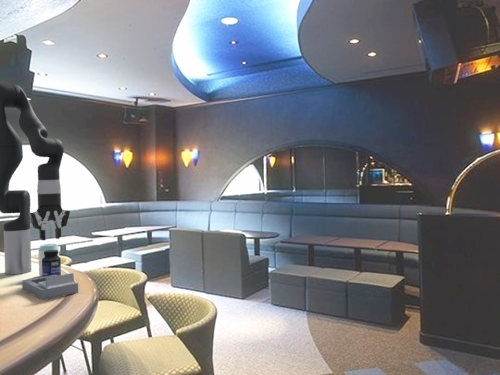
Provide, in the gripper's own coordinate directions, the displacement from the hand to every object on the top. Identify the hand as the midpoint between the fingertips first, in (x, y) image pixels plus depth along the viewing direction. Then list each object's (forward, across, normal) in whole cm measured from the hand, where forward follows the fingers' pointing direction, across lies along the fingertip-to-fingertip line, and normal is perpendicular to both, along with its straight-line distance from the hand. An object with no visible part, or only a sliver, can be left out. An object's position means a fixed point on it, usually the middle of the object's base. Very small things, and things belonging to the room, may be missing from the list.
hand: (50, 239), depth 143 cm
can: (+15, +2, +10) cm, 18 cm away
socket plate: (+15, -6, -14) cm, 22 cm away
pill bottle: (+15, 0, 0) cm, 15 cm away
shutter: (+12, -6, -20) cm, 24 cm away
